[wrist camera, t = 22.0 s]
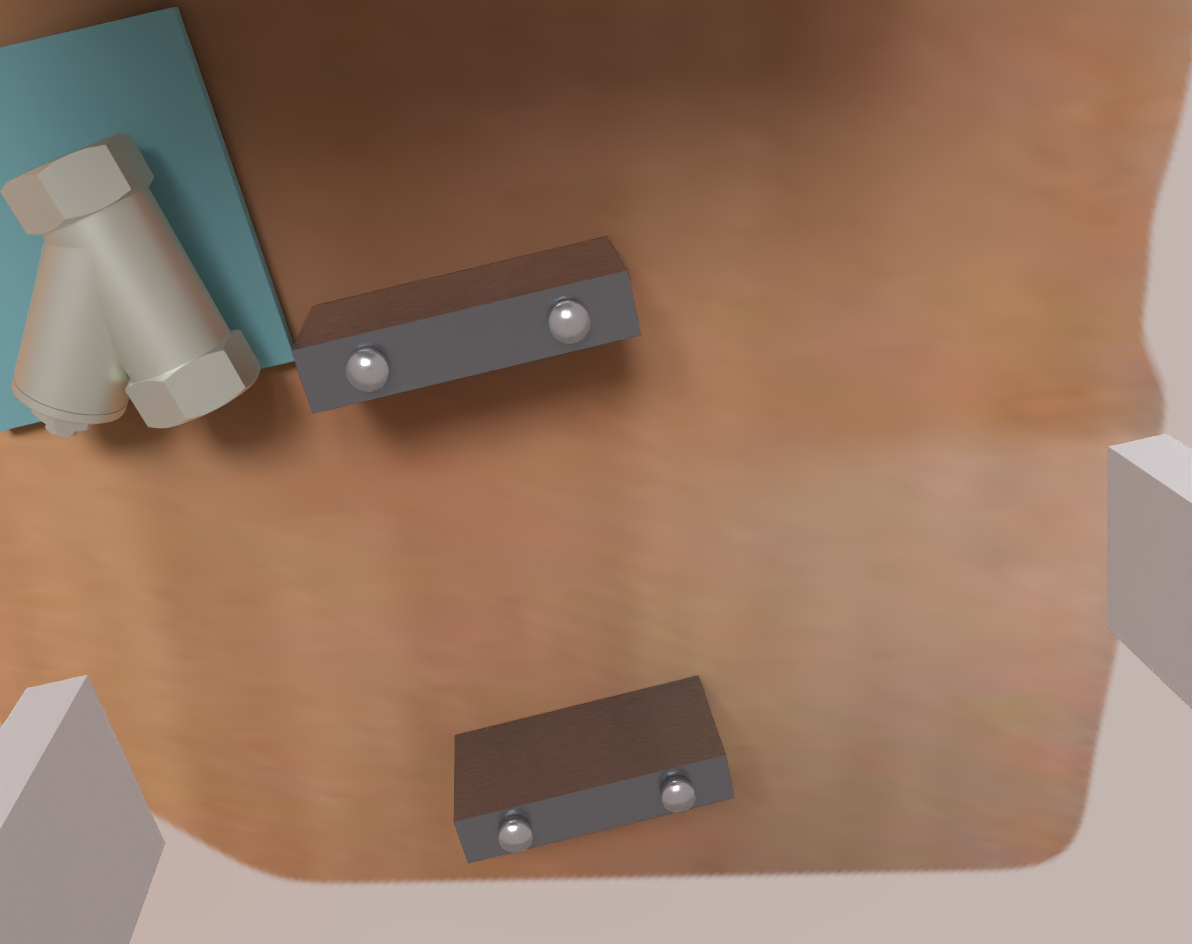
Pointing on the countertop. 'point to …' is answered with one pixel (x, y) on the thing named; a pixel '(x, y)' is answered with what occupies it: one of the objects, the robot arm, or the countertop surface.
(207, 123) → the mat
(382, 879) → the countertop surface
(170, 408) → the pipe fitting
